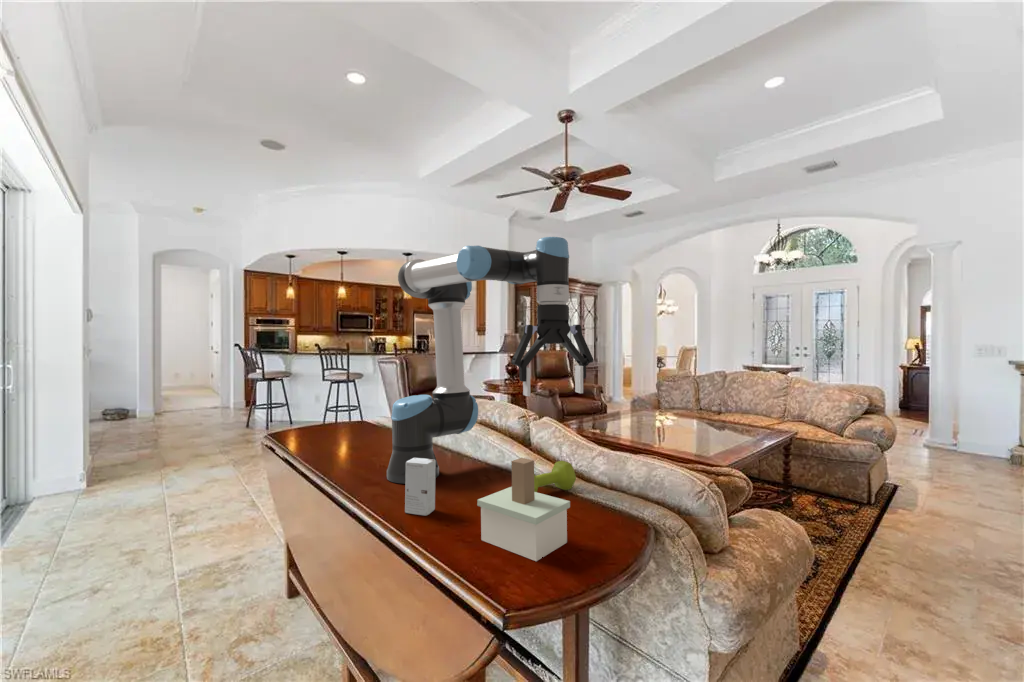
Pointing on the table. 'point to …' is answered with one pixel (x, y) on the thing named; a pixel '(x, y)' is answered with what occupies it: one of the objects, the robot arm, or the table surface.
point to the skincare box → (420, 486)
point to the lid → (524, 497)
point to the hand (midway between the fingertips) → (553, 394)
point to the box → (524, 533)
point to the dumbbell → (557, 476)
